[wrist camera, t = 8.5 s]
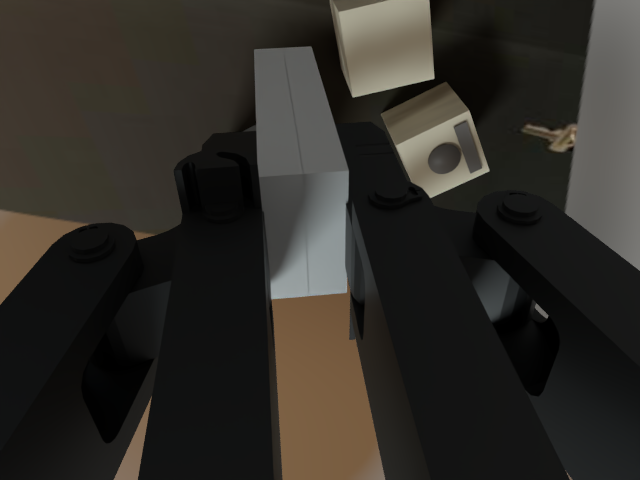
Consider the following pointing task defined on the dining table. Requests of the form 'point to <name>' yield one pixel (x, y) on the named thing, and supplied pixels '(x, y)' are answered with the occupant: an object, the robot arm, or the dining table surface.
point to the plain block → (383, 43)
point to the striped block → (436, 140)
